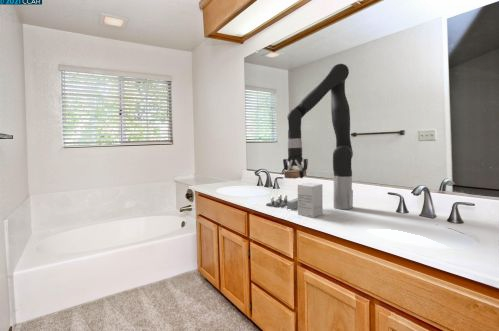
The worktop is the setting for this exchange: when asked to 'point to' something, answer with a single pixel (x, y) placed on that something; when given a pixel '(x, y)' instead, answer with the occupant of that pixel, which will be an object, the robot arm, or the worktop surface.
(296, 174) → the brown wooden block
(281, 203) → the peg base
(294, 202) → the stand
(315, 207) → the supplement box
